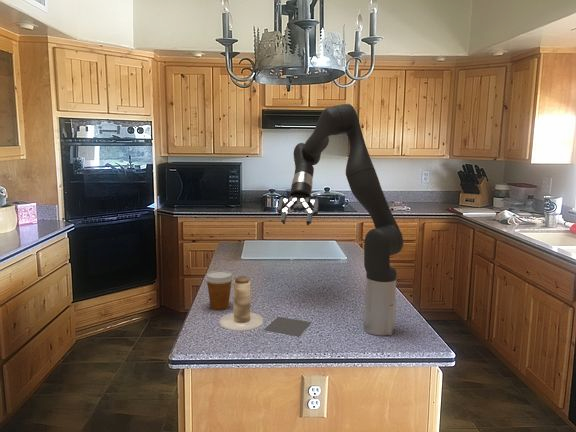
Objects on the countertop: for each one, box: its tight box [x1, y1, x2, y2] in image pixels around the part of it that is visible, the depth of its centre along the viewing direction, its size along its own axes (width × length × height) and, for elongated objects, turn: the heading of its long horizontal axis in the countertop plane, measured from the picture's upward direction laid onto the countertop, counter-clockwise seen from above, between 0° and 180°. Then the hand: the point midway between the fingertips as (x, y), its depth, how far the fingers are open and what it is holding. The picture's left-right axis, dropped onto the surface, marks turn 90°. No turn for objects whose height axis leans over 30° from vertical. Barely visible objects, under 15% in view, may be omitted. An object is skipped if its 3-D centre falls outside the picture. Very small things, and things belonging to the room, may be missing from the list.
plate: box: [219, 311, 264, 332], centre depth 152 cm, size 14×14×1 cm
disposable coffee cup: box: [205, 270, 234, 311], centre depth 165 cm, size 10×10×12 cm
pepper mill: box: [232, 275, 251, 323], centre depth 151 cm, size 5×5×14 cm
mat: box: [263, 316, 313, 338], centre depth 150 cm, size 12×12×1 cm
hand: (295, 223), depth 163 cm, fingers open, 8 cm apart
